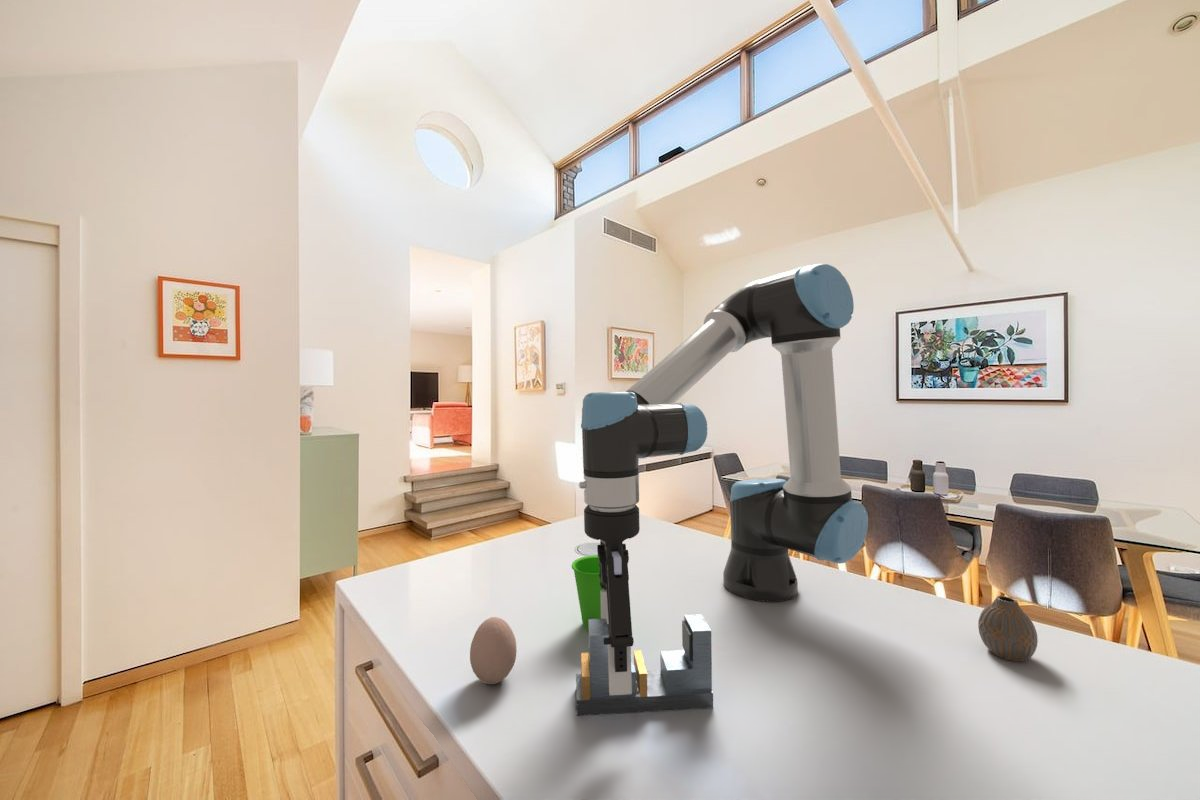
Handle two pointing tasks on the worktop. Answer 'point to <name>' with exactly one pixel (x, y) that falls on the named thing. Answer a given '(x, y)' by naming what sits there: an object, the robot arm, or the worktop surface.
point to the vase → (1007, 630)
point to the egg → (493, 650)
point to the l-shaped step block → (602, 660)
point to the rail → (660, 678)
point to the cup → (588, 587)
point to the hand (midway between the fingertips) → (614, 660)
